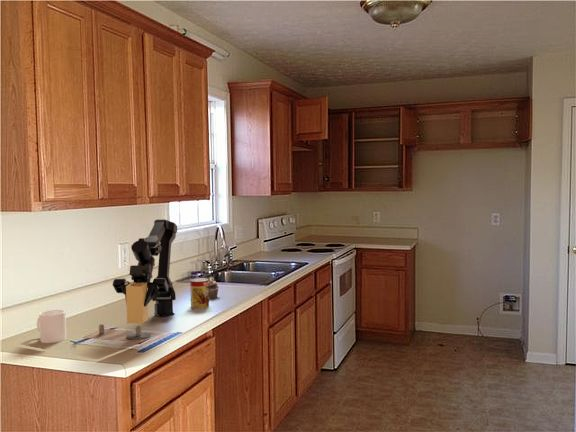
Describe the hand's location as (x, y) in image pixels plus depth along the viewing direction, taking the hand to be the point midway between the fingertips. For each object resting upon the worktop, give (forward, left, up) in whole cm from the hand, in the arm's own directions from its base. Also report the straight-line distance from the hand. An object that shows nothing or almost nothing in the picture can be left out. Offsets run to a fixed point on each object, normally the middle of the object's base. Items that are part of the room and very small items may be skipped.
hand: (136, 306), depth 177 cm
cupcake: (-52, -44, -12) cm, 69 cm away
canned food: (-40, -30, -12) cm, 51 cm away
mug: (+24, -19, -12) cm, 33 cm away
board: (+4, -7, -12) cm, 14 cm away
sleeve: (-1, -1, -6) cm, 6 cm away
